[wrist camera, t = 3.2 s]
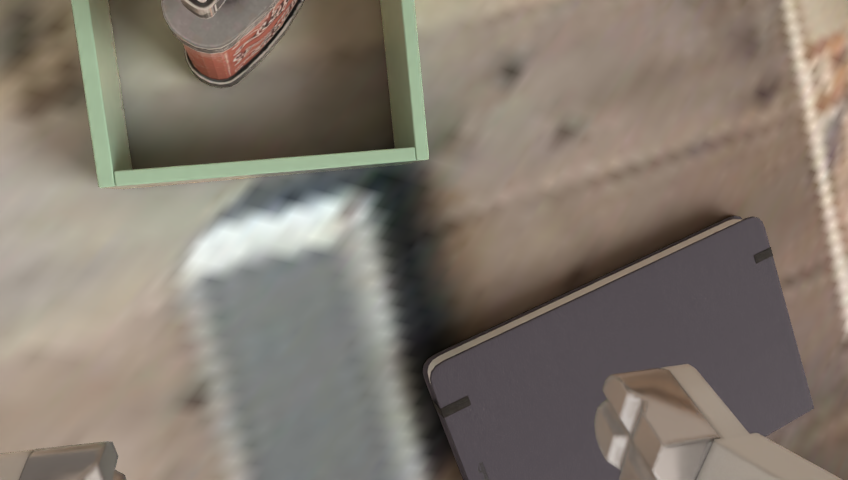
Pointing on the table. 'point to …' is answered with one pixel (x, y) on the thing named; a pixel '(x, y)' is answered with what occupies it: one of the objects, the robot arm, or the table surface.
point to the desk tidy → (119, 174)
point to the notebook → (622, 356)
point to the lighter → (228, 34)
